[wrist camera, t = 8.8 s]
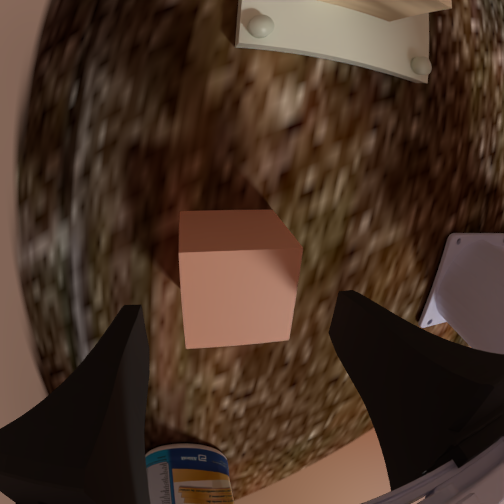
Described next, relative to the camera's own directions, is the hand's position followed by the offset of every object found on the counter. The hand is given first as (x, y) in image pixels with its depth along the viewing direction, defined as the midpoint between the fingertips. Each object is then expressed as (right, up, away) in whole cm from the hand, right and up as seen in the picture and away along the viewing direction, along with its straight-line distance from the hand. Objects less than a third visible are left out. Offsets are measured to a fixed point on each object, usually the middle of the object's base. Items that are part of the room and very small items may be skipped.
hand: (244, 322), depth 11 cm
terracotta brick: (-1, +2, +5) cm, 6 cm away
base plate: (+5, +16, -1) cm, 17 cm away
